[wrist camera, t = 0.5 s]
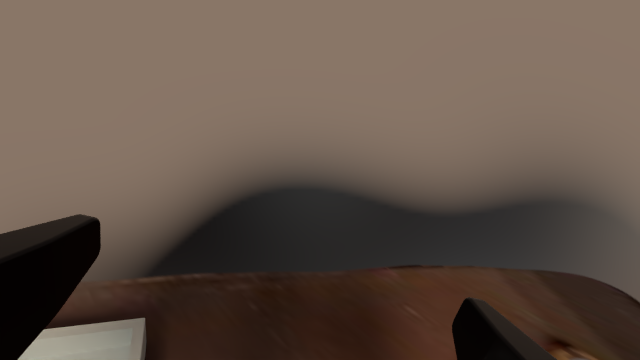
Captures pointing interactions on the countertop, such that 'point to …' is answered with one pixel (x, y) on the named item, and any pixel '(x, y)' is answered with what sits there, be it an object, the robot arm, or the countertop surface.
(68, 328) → the tray
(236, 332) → the countertop surface
